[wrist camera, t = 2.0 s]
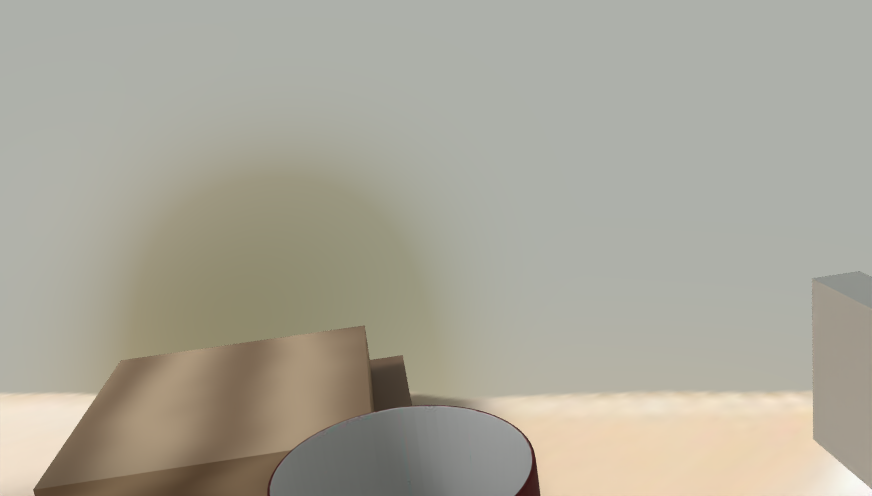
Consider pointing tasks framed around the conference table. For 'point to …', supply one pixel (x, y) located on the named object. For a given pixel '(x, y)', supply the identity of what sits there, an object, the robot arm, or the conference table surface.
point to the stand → (220, 415)
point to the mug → (411, 456)
